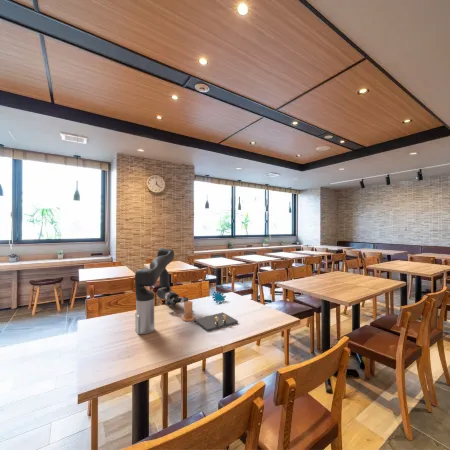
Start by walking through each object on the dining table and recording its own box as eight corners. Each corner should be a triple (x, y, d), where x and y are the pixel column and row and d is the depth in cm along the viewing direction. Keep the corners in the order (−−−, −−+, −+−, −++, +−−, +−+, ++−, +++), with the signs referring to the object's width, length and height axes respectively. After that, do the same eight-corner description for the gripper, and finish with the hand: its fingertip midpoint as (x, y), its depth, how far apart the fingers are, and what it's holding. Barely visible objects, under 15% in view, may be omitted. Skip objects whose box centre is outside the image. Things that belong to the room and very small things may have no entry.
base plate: (207, 331, 128) (207, 321, 128) (194, 321, 142) (194, 312, 142) (237, 323, 139) (237, 313, 139) (222, 314, 153) (222, 306, 153)
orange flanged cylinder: (185, 322, 141) (184, 305, 141) (179, 318, 147) (179, 301, 147) (196, 319, 145) (196, 303, 145) (191, 315, 152) (191, 299, 152)
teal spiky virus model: (214, 302, 171) (211, 290, 178) (211, 306, 175) (208, 294, 181) (228, 302, 176) (225, 290, 182) (224, 306, 179) (222, 294, 186)
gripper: (161, 293, 165) (170, 300, 152) (181, 290, 173) (191, 296, 159) (161, 304, 165) (170, 312, 152) (181, 301, 173) (191, 307, 159)
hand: (181, 303), depth 156 cm, fingers open, 8 cm apart
